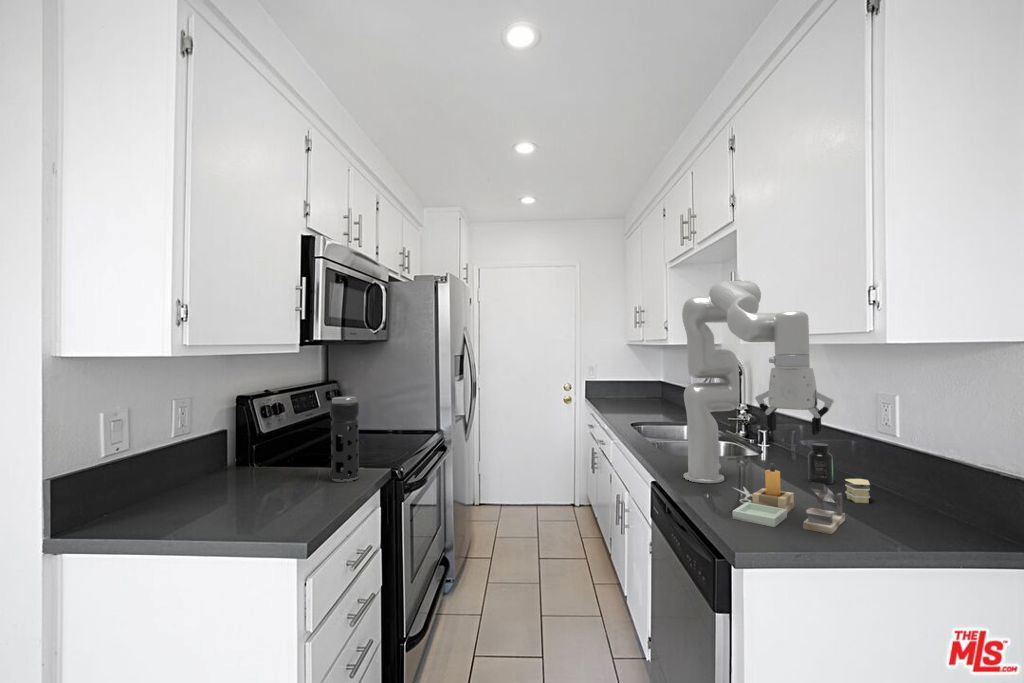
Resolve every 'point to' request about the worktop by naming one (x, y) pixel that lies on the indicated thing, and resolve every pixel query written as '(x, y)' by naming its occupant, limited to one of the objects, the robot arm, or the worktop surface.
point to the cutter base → (825, 527)
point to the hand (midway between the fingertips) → (793, 432)
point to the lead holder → (774, 499)
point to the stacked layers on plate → (858, 490)
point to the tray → (760, 514)
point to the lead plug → (772, 481)
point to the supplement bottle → (820, 464)
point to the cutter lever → (823, 492)
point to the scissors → (745, 494)
